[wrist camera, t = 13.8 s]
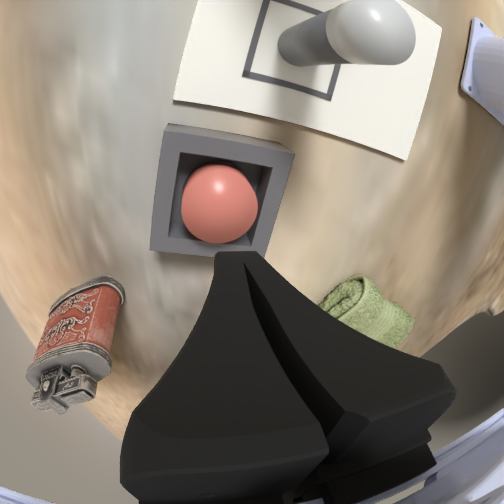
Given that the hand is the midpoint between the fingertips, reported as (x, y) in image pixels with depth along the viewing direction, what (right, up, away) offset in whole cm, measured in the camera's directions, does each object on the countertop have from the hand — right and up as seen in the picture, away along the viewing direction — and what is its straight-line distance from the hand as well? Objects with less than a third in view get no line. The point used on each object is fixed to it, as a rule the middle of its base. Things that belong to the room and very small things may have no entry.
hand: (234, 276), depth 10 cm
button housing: (-2, +5, +9) cm, 10 cm away
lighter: (-13, -3, +12) cm, 18 cm away
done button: (-2, +4, +8) cm, 9 cm away
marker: (+3, +13, +5) cm, 14 cm away
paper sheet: (+5, +14, +5) cm, 16 cm away
